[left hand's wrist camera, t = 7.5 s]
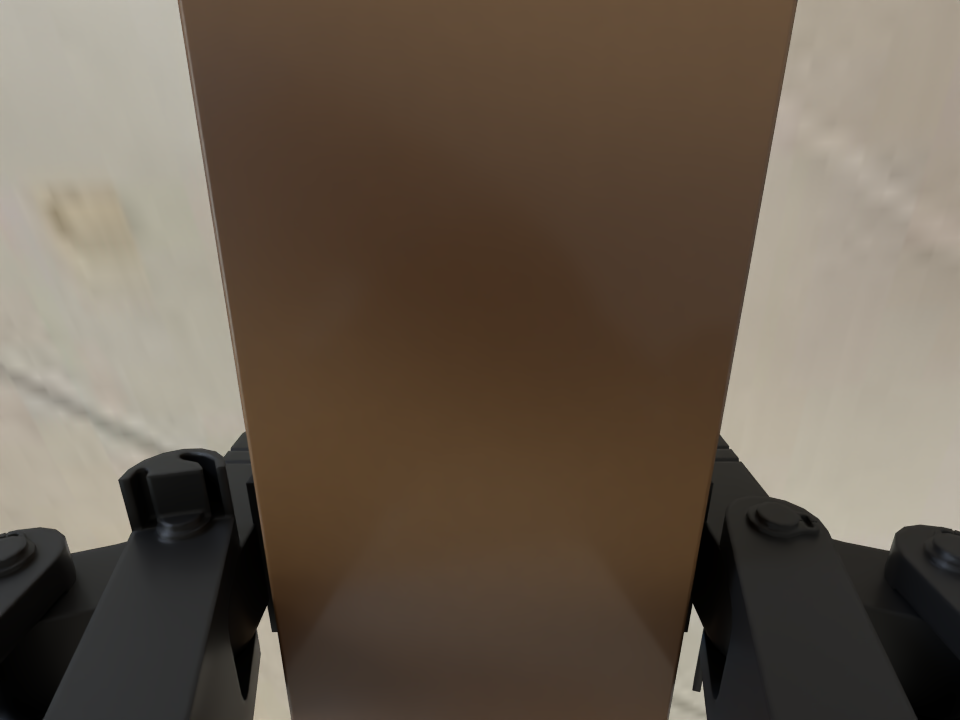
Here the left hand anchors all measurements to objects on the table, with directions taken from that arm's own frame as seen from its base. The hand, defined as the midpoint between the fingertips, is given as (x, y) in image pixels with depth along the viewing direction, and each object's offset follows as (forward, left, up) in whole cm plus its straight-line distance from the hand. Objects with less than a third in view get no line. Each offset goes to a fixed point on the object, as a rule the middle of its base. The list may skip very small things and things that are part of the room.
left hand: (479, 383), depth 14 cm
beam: (-2, +24, -1) cm, 24 cm away
